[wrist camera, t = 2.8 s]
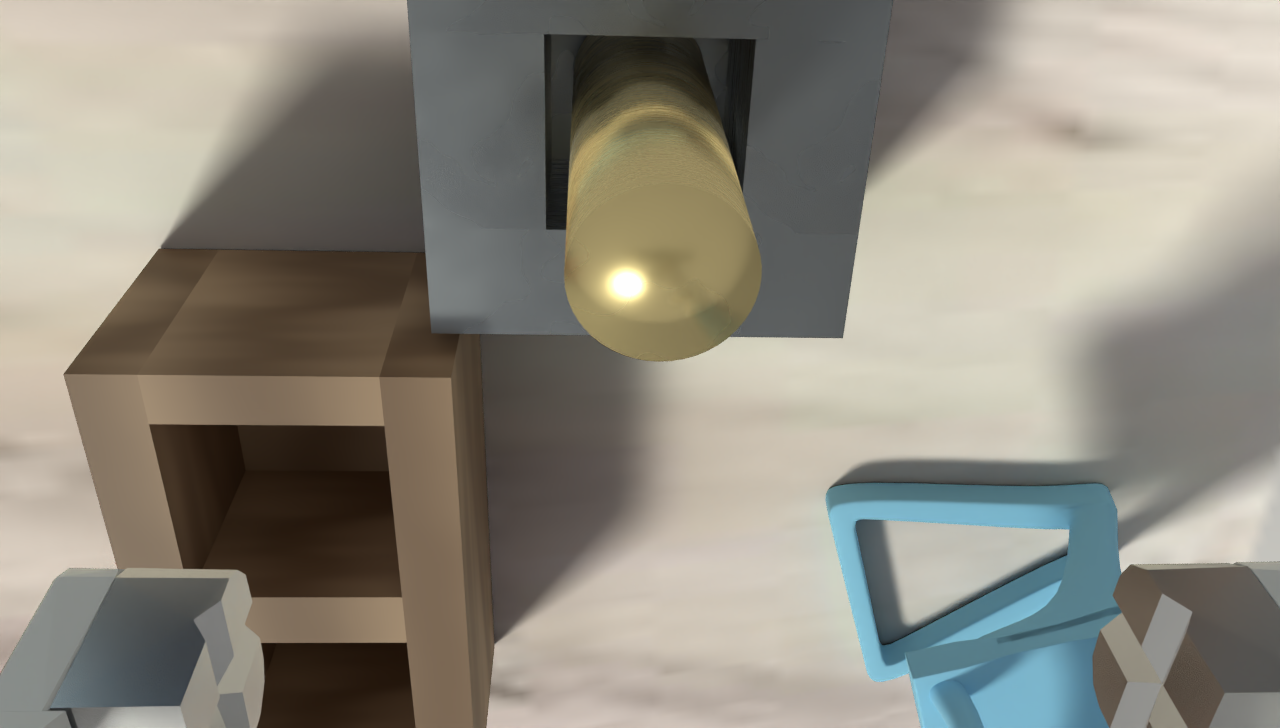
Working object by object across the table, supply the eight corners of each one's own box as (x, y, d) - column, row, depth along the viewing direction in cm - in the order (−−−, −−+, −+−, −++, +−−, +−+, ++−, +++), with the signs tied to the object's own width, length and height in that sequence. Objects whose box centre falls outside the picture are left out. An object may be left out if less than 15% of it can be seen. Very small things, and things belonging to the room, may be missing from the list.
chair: (1115, 608, 36) (1321, 973, 26) (863, 664, 37) (967, 1038, 27) (1102, 420, 32) (1339, 764, 22) (820, 488, 33) (922, 848, 23)
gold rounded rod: (709, 11, 25) (770, 185, 16) (700, 141, 26) (752, 362, 18) (573, 8, 25) (563, 182, 16) (573, 138, 26) (564, 360, 18)
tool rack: (475, 253, 29) (450, 377, 24) (494, 645, 36) (478, 805, 31) (159, 248, 28) (63, 374, 23) (242, 646, 36) (183, 808, 30)
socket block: (852, -138, 24) (907, -98, 20) (805, 241, 29) (842, 337, 25) (433, -152, 24) (398, -115, 19) (455, 235, 28) (431, 333, 24)
